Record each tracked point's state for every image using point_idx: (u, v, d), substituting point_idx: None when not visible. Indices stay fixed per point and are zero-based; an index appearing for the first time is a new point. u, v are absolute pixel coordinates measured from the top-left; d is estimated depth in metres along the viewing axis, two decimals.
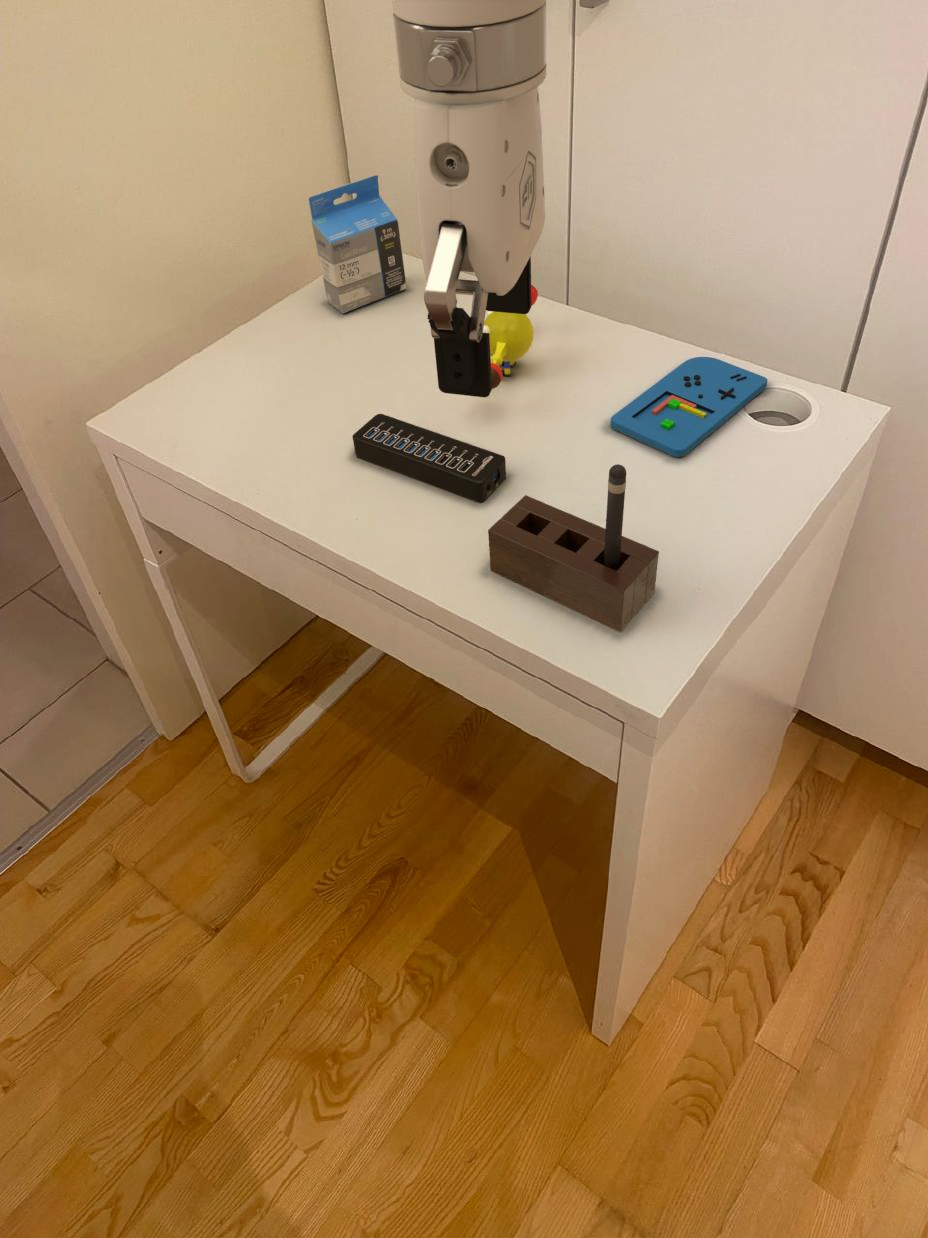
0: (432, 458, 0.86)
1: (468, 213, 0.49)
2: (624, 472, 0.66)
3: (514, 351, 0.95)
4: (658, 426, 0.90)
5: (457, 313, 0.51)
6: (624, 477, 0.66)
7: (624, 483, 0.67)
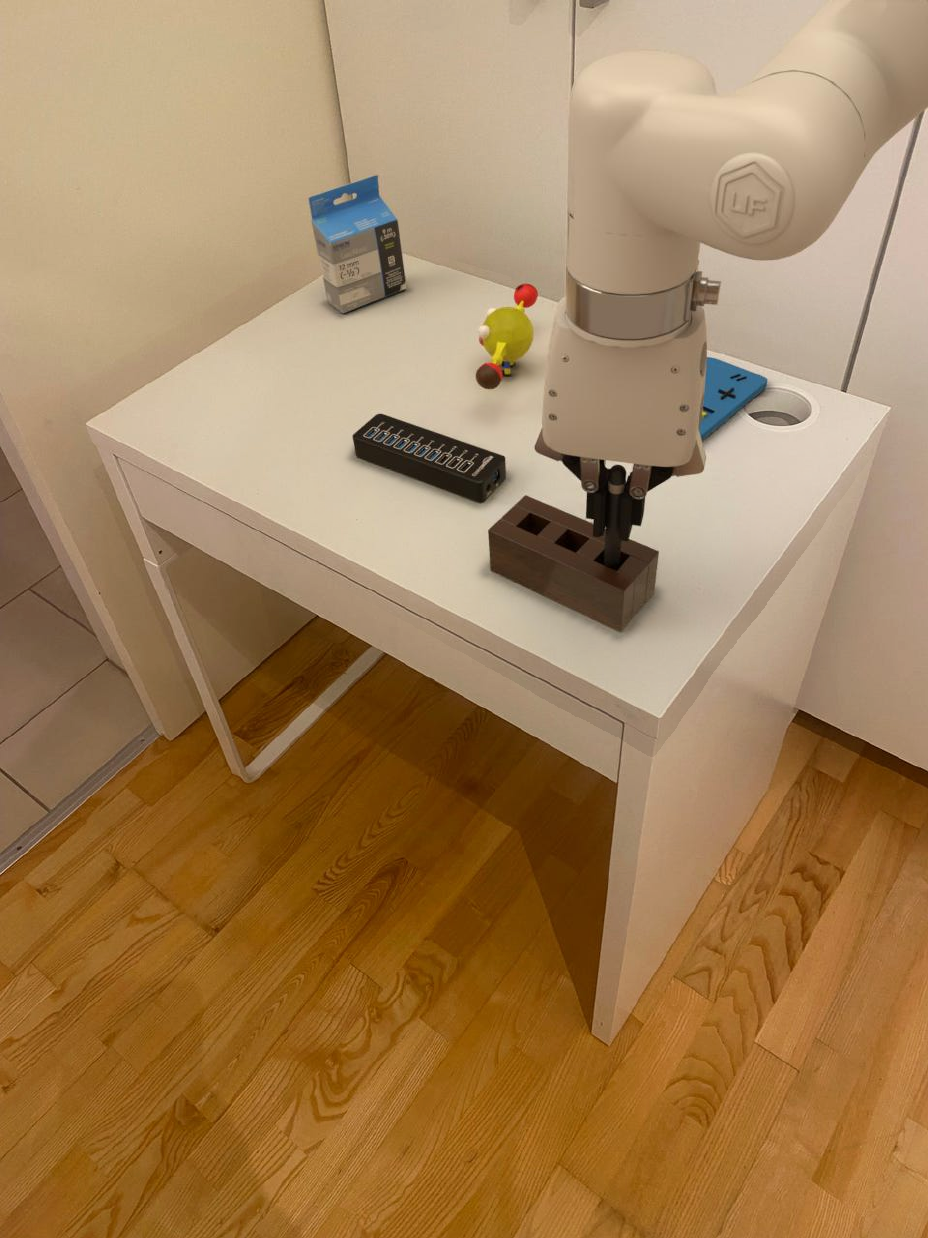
0: (432, 458, 0.86)
1: (704, 383, 0.61)
2: (624, 472, 0.66)
3: (514, 351, 0.95)
4: None
5: None
6: (624, 477, 0.66)
7: (624, 483, 0.67)
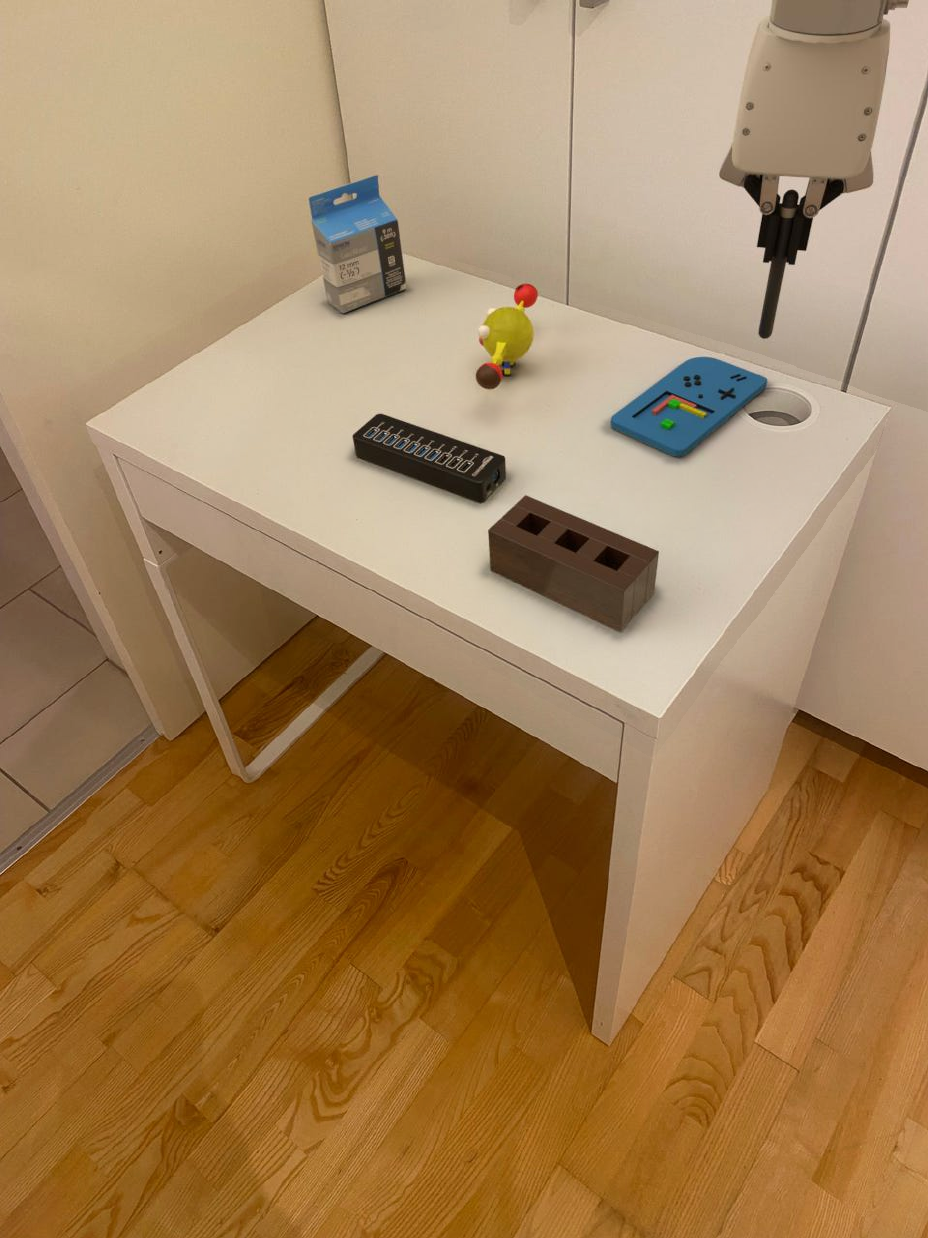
0: (432, 458, 0.86)
1: None
2: (797, 195, 0.76)
3: (514, 351, 0.95)
4: (658, 426, 0.90)
5: None
6: (797, 200, 0.76)
7: (796, 207, 0.76)
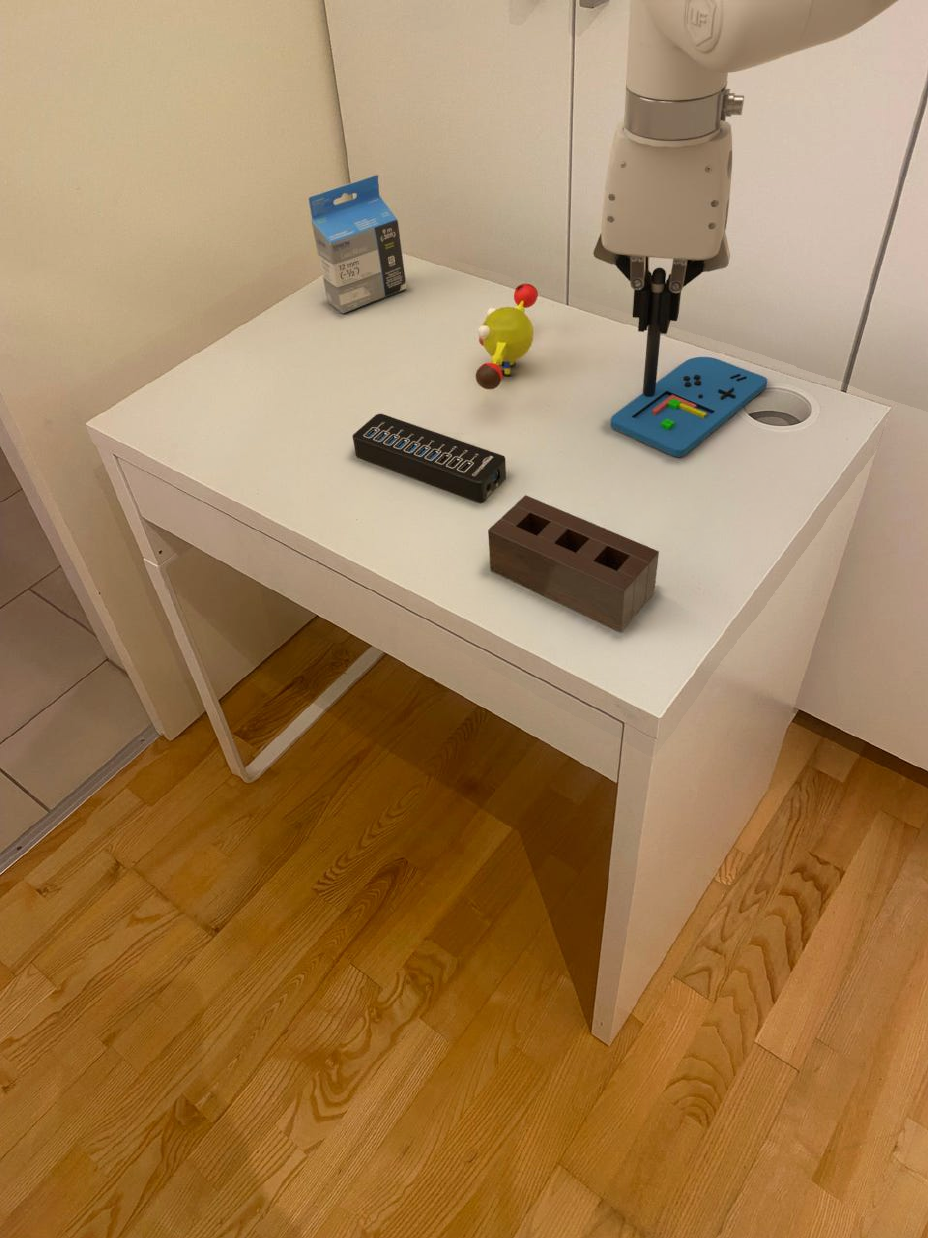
0: (432, 458, 0.86)
1: None
2: (664, 273, 0.83)
3: (514, 351, 0.95)
4: (658, 426, 0.90)
5: None
6: (664, 277, 0.84)
7: (664, 283, 0.84)
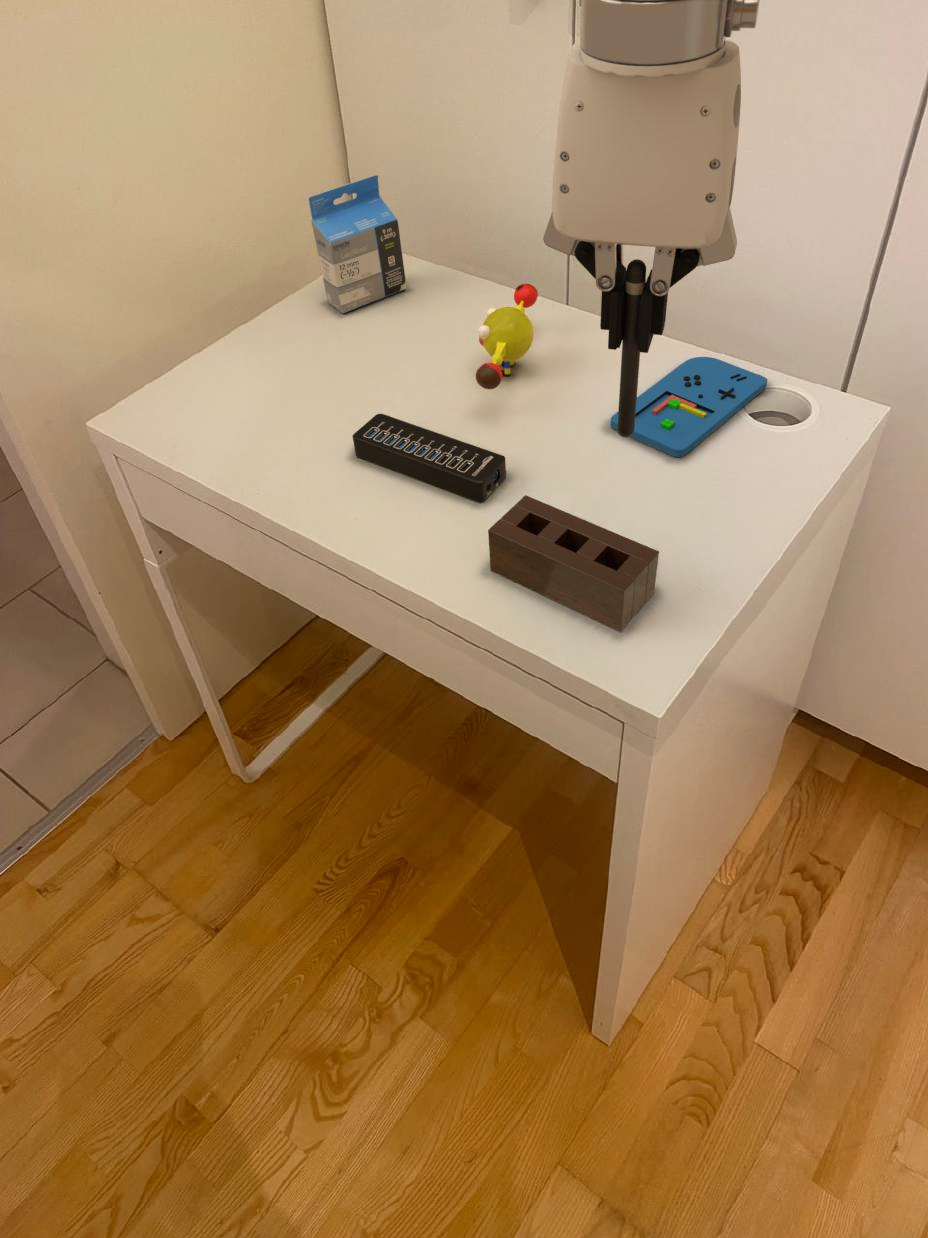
0: (432, 458, 0.86)
1: (737, 144, 0.53)
2: (644, 267, 0.59)
3: (514, 351, 0.95)
4: (658, 426, 0.90)
5: None
6: (644, 273, 0.59)
7: (644, 281, 0.59)
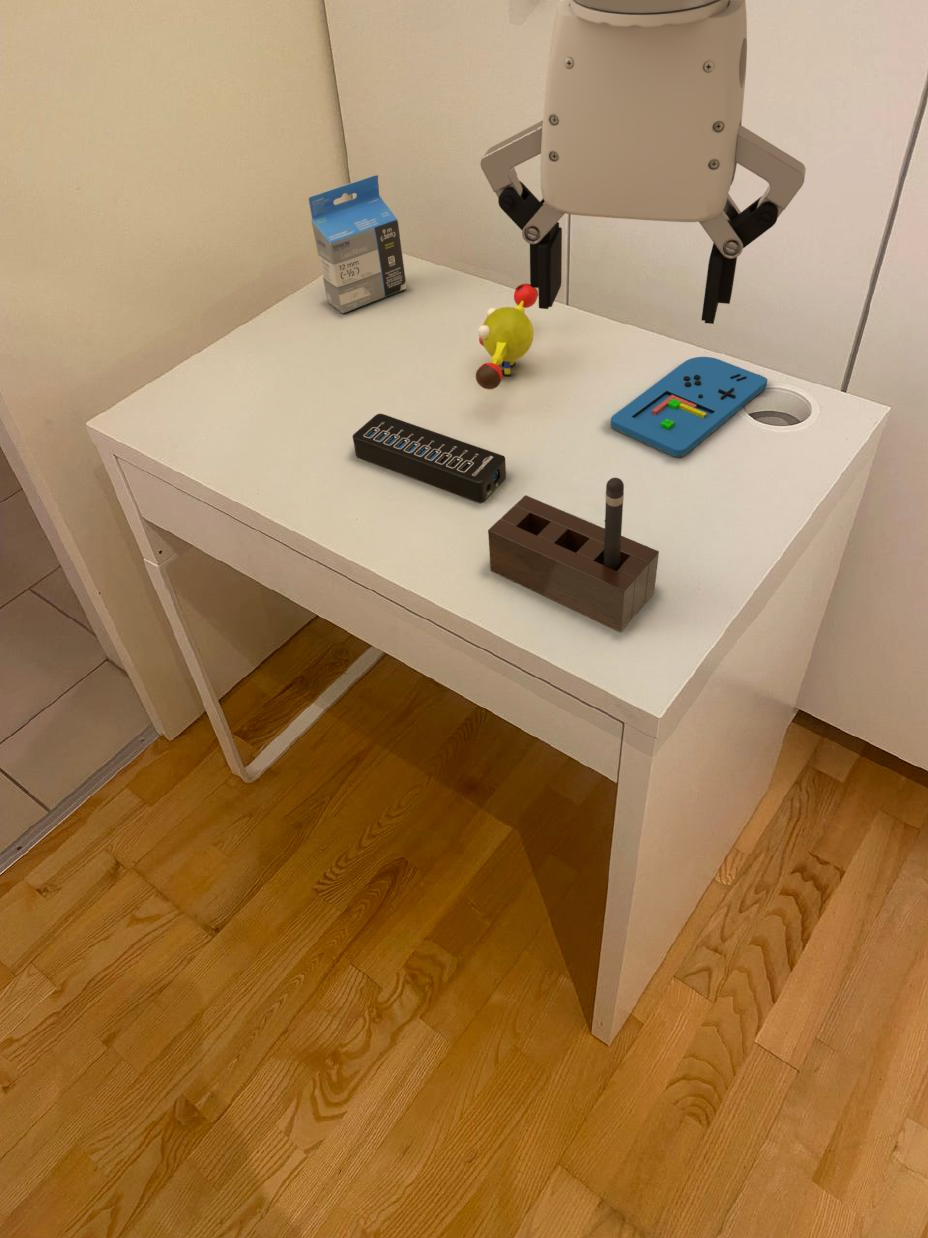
0: (432, 458, 0.86)
1: (742, 105, 0.49)
2: (621, 486, 0.65)
3: (514, 351, 0.95)
4: (658, 426, 0.90)
5: None
6: (622, 491, 0.65)
7: (622, 496, 0.66)
